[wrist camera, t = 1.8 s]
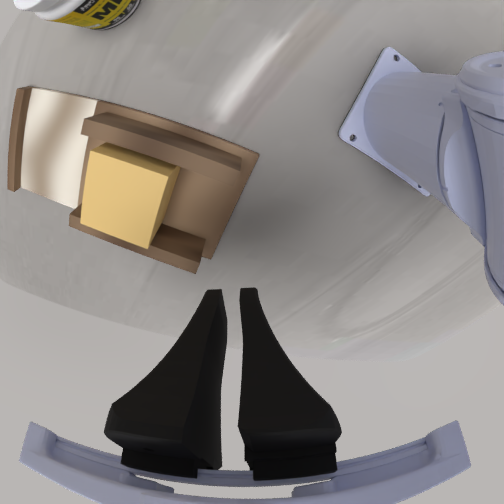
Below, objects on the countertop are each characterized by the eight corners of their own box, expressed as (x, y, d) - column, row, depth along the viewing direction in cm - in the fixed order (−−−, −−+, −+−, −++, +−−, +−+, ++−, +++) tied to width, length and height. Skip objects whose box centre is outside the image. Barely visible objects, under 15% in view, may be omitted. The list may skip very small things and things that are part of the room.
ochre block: (184, 157, 17) (168, 176, 14) (163, 219, 20) (147, 249, 16) (119, 135, 16) (90, 150, 12) (105, 197, 18) (80, 223, 15)
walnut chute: (259, 153, 17) (261, 168, 15) (211, 255, 22) (206, 284, 19) (28, 86, 13) (0, 92, 10) (17, 182, 17) (-7, 199, 14)
